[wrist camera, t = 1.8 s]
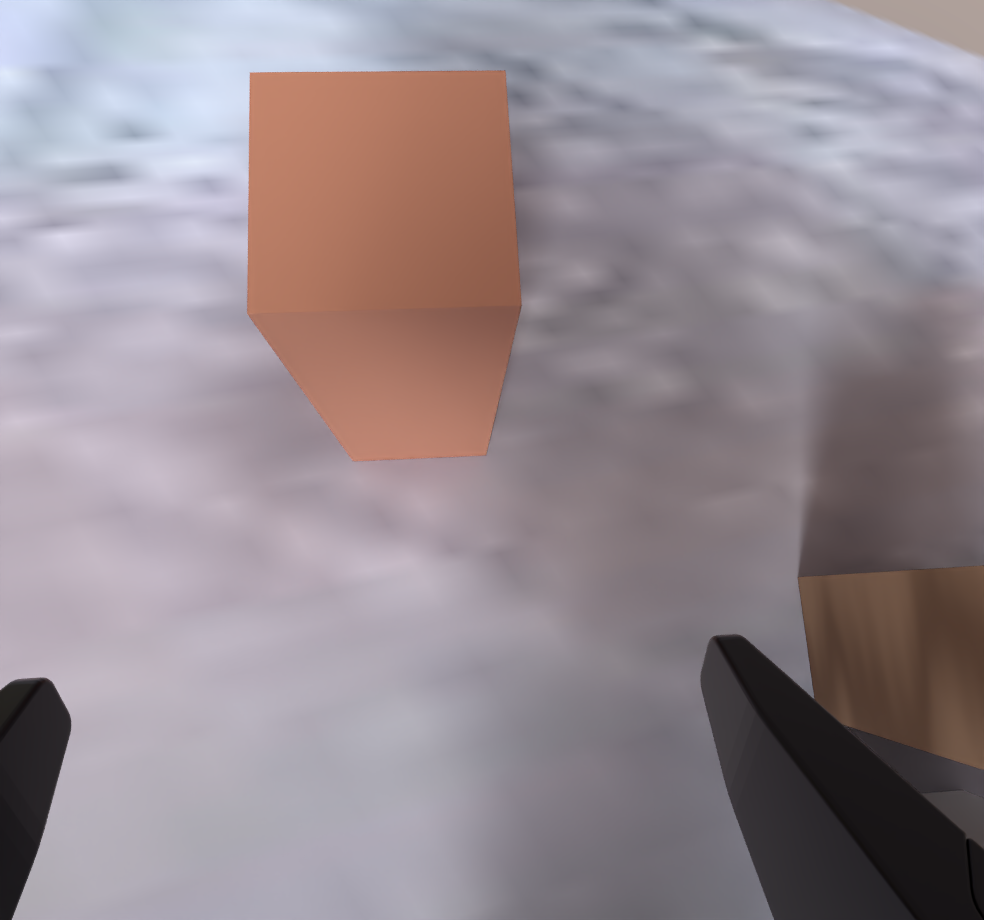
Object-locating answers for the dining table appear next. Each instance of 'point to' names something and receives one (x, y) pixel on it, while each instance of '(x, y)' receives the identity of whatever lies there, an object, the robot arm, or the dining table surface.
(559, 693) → the dining table surface
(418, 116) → the rust block
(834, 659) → the walnut block
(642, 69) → the dining table surface
